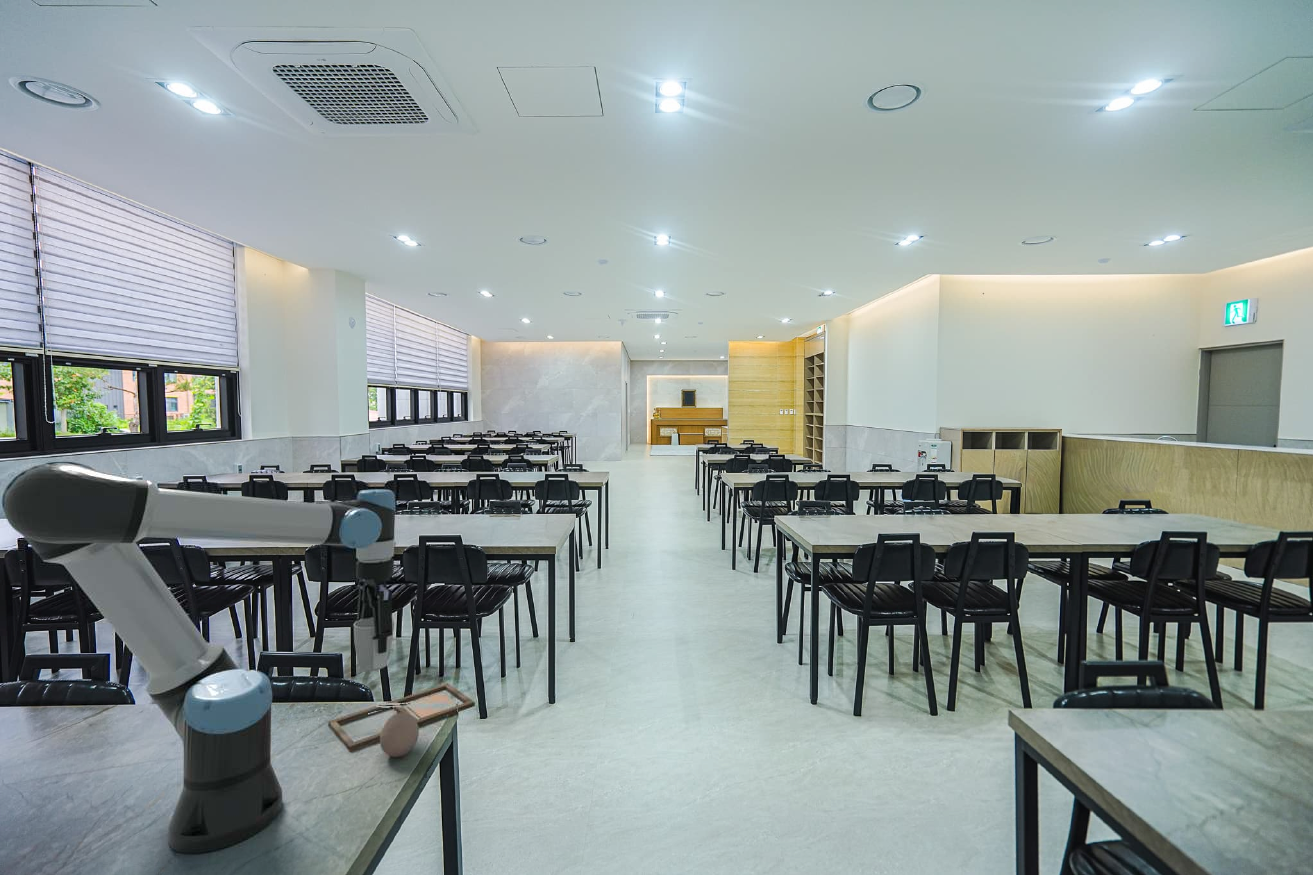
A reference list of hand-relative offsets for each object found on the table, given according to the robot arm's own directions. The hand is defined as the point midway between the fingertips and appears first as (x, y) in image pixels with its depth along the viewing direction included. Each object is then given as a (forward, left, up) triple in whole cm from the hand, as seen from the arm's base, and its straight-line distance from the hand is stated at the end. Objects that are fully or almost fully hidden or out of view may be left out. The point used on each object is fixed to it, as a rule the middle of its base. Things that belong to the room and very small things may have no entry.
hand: (373, 661), depth 125 cm
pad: (0, -13, -15) cm, 20 cm away
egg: (-15, 0, -15) cm, 21 cm away
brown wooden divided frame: (0, -7, -15) cm, 16 cm away
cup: (0, 0, -1) cm, 1 cm away
